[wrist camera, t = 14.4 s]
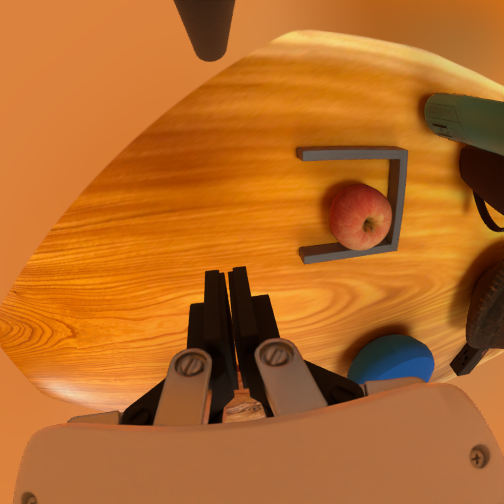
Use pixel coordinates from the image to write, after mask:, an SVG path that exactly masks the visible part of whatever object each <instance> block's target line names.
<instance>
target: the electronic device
mask: <svg viewBox="0 0 504 504" xmlns="http://www.w3.org/2000/svg"><path fill="white" fill-rule="evenodd" d="M488 350H489V348H480V349H476V348H472V347H471V346H470V345H469V344H468V343H467V344H466V346H465V347H464V348H463V350H462V351H461V352H460V353H459V355H458V356H457V357H456V358H455V360H454V361H453V362H452V363H451V365H450V366H451V367H452V369H453V370H454V372H455V373H456V375H457V376H461V375H466V374H469V373H470V372H471V371H472V370H473V369H474V367H475V366H476V365H477V364H478V362H479V361H480V360H481V359H482V357H483V356H484V355H485V354H486V352H487V351H488Z"/></svg>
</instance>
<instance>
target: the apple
mask: <svg viewBox="0 0 504 504" xmlns="http://www.w3.org/2000/svg"><path fill="white" fill-rule="evenodd" d="M391 221H392V210H391V206H390V204H389V202H388V200H387V199H386V197H385V196H384V195H383V194H382V193H381V192H379V191H378V190H376V189H374V188H373V187H370V186H368V185H364V184H356V185H352V186H350V187H347V188H345V189H342V190H341V191H340V192H338V194H337V195H336V196H335V197H334V199H333V201H332V203H331V206H330V211H329V225H330V229H331V231H332V233H333V235H334V236H335V238H336V239H337V240H338V241H339V242H340V243H341V244H342V245H343V246H345V247H347V248H349V249H352V250H358V251H361V250H367V249H370V248H372V247H373V246H375V245H377V244H378V243H380V242H381V241H382V240H383V239H384V237H385V236H386V235H387V233H388V231H389V229H390V226H391Z"/></svg>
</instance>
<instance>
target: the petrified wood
mask: <svg viewBox="0 0 504 504" xmlns="http://www.w3.org/2000/svg"><path fill="white" fill-rule="evenodd" d="M237 373H238V382H239V390H234V395H235V398H233V399H232V400H231V401H230V402H229V403H228V404H227V405H226V421H225V423H231V422H240V421H249V420H257V419H264V418H265V416H264V414H263V411H262V408H261V404H260V402H258V401H256V400H254V399H253V398H251V397H250V393H249V388H248V389H243V384H242V379H241V373H240V371H237Z"/></svg>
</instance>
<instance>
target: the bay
mask: <svg viewBox="0 0 504 504" xmlns="http://www.w3.org/2000/svg"><path fill="white" fill-rule="evenodd" d="M297 158H299V159H300V160H302V161H319V160H344V159H390V173H389V188H388V202H389V204H390V206H391V210H392V221H391V226H390V229H389V231H388V233H387V235H386V236H385V237H384V239H383V240H382V241H381V242H380V243H378V244H377V245H375V246H373V247H372V248H370V249H367V250H361V251H358V250H352V249H349V248H347V247H345V246H343V245H342V244H341V243H340V242H339V243H332V244H324V245H316V246H308V247H301V248H299V255H300V257H301V259H302V261H303V263H304V264H310V263H317V262H324V261H331V260H338V259H345V258H352V257H358V256H365V255H372V254H378V253H384V252H391V251H397V247H398V241H399V235H400V228H401V221H402V214H403V205H404V196H405V186H406V174H407V159H408V150H405V149H402V148H399V147H385V146H328V147H303V148H297Z"/></svg>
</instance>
